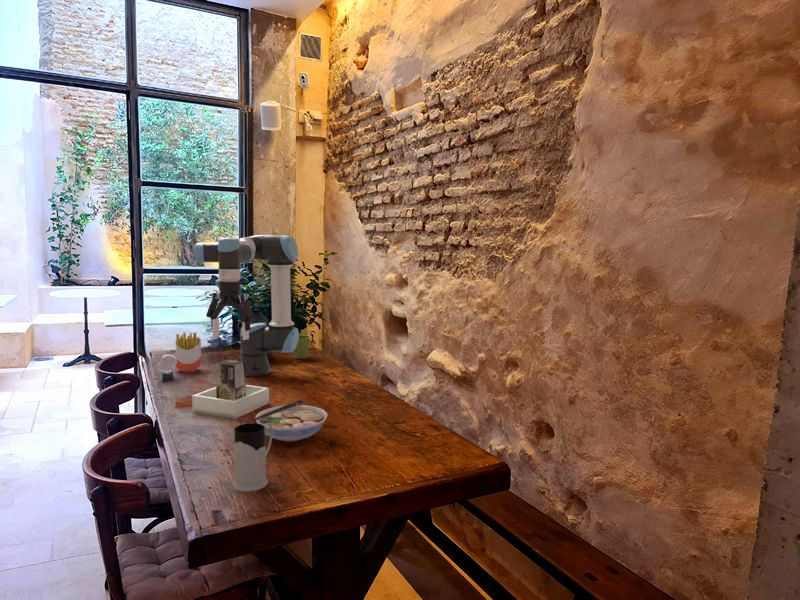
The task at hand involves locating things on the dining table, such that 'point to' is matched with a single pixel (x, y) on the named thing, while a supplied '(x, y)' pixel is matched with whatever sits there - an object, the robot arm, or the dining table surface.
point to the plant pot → (302, 347)
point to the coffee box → (230, 380)
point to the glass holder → (250, 456)
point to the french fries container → (188, 352)
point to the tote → (230, 402)
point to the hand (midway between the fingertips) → (230, 337)
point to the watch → (166, 374)
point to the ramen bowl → (292, 421)
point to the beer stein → (258, 319)
